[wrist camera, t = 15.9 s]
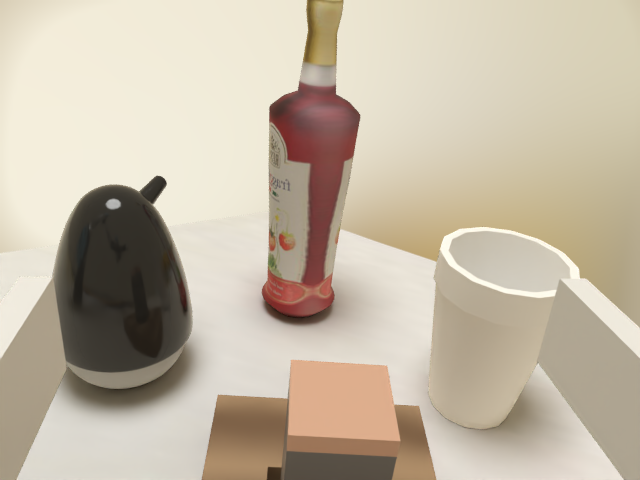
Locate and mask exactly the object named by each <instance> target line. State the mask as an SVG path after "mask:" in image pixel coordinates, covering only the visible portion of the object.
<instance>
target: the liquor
mask: <svg viewBox="0 0 640 480" xmlns="http://www.w3.org/2000/svg"><path fill="white" fill-rule="evenodd" d="M342 9H343V0H307V9H306V10H307V22H308V35H307V41H306V46H305V53H304V58H303V64H302V70H301V76H300V81H299V87H298V91H295V92H292V93H289V94H286V95H284V96H282V97H281V98H279V99H278V100H277V101H275V102H274V103H273V104H271V106H270V112H269V123H270V124H269V252H268V281H267V282H266V283H265V285H264V286H263V289H262V295H263V297H264V299H265V300H266V302H267V303H269V304H270V305H271V306H272V307H274V308H275V309H276V310H278V311H279V312H281V313H282V314H284V315H287V316H291V317H308V316H311V315H313V314H316V313H318V312H320V311H322V310H324V309H326V308H327V307H329V306H330V305H331V304H332V302H333V300H334V291H333V289H332V287H331V282H332V275H333V268H334V262H335V255H336V249H337V243H338V237H339V231H340V225H341V219H342V214H343V209H344V204H345V199H346V194H347V189H348V184H349V179H350V173H351V168H352V162H353V156H354V149H355V143H356V138H357V132H358V126H359V121H360V114H359V113H358V111H357V110H356V109H355V108H354V107H353V106H352V105H351V104H350V103H349V102H348V101H347V100H345V99H343V98H342V97H340V96H338V95H336V55H337V54H336V53H337V52H336V51H337V31H338V27H339V23H340V19H341V15H342Z"/></svg>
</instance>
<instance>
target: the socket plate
mask: <svg viewBox="0 0 640 480" xmlns="http://www.w3.org/2000/svg"><path fill="white" fill-rule="evenodd" d="M287 401H288V399H283V398H265V397H247V396H229V395H218V397H217V402H216V408H215V413H214V418H213V423H212V429H211V434H210V439H209V444H208V450H207V455H206V460H205V465H204V471H203V476H202V480H280V478H281V467H282V456H283V445H284V434H285V423H286V412H287ZM394 407H395V413H396V419H397V424H398V430H399V435H400V441H401V442H400V446H399V450H398V455H397V459H396V464H395V468H394V472H393V477H392V480H436V476H435V472H434V468H433V463H432V459H431V455H430V451H429V447H428V442H427V438H426V434H425V430H424V426H423V421H422V417H421V413H420V409H419V406H408V405H394Z"/></svg>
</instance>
